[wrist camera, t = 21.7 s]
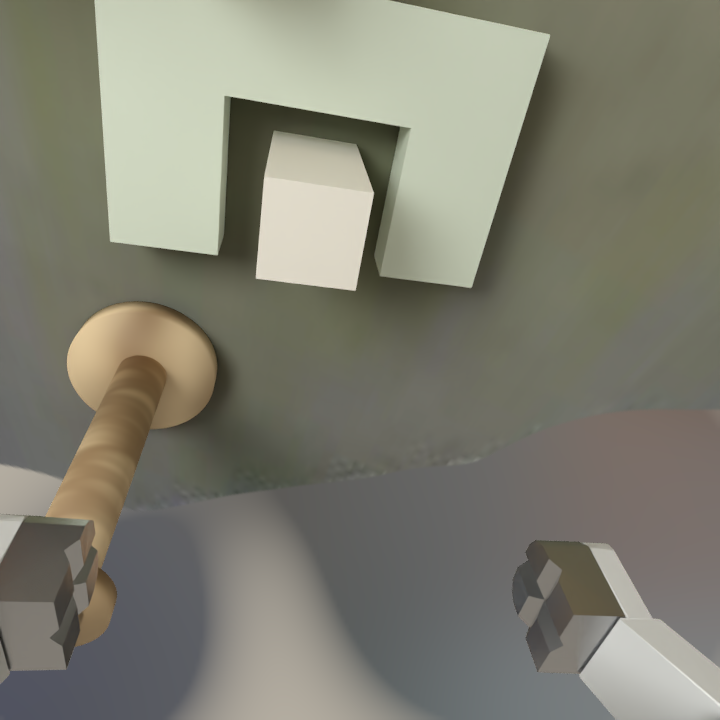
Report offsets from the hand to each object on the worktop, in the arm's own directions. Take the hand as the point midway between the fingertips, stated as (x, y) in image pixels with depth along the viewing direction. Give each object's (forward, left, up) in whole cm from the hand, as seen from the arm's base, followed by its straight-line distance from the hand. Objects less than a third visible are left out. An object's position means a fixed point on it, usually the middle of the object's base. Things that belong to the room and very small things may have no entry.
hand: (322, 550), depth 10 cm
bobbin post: (+9, +13, -25) cm, 30 cm away
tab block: (0, 0, -25) cm, 25 cm away
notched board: (0, -3, -25) cm, 25 cm away
